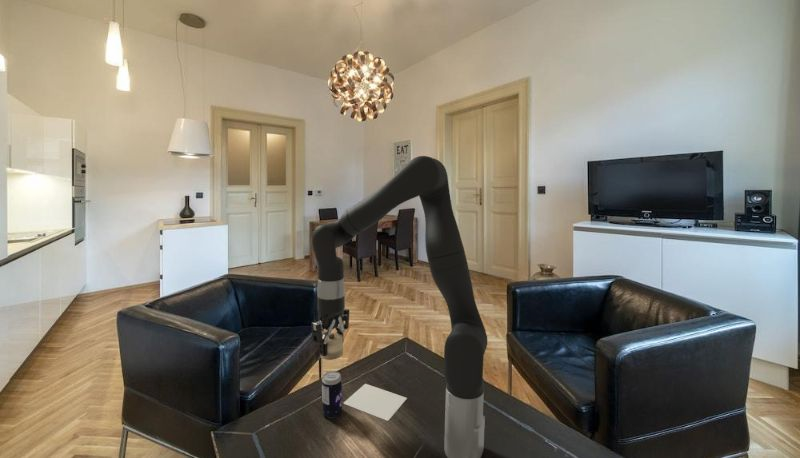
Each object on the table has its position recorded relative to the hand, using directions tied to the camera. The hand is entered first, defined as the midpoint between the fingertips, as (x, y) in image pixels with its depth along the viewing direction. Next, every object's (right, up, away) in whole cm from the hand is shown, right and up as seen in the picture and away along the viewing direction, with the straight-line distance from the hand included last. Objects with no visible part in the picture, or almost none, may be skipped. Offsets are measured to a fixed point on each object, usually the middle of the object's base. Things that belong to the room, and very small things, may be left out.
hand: (331, 349), depth 96 cm
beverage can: (0, -20, +2) cm, 20 cm away
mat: (+12, -19, +8) cm, 24 cm away
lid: (0, -1, 0) cm, 1 cm away
